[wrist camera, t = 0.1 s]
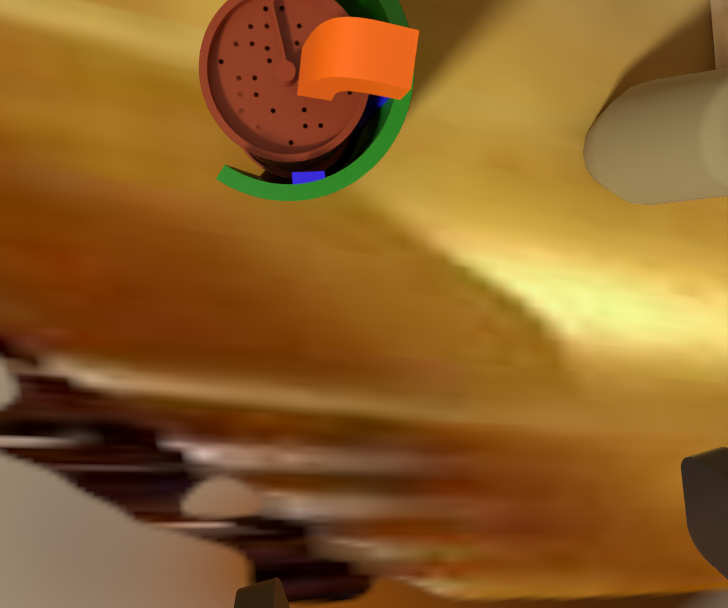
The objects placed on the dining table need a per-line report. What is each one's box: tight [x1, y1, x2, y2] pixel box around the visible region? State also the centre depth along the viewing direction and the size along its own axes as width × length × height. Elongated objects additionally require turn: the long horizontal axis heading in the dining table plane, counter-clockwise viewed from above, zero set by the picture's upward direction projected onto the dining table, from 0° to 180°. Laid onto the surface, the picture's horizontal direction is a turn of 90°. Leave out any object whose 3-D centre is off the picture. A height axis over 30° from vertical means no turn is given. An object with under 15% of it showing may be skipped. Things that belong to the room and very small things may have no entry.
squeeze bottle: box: [583, 68, 728, 205], centre depth 30 cm, size 8×8×18 cm
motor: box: [199, 0, 419, 201], centre depth 26 cm, size 10×9×20 cm
